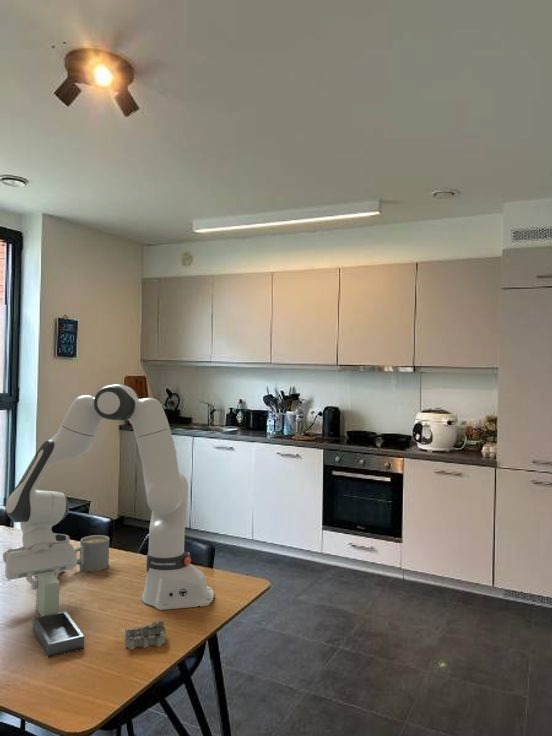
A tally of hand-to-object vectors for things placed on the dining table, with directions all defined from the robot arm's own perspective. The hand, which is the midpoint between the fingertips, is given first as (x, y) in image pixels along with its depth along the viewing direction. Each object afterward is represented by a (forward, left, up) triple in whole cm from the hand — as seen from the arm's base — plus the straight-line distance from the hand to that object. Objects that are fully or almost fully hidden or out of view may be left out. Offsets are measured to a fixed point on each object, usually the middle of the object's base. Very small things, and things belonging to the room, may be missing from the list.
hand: (45, 586), depth 165 cm
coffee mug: (-5, -35, -7) cm, 36 cm away
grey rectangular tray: (-10, +20, -6) cm, 23 cm away
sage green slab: (-2, +3, -6) cm, 7 cm away
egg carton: (-33, +22, -7) cm, 40 cm away
